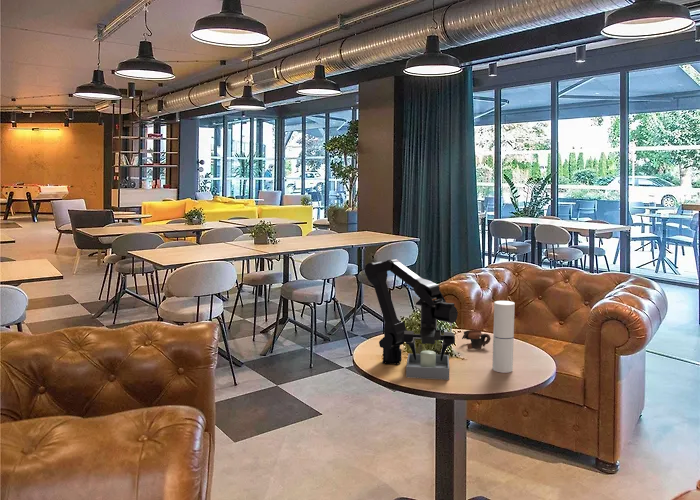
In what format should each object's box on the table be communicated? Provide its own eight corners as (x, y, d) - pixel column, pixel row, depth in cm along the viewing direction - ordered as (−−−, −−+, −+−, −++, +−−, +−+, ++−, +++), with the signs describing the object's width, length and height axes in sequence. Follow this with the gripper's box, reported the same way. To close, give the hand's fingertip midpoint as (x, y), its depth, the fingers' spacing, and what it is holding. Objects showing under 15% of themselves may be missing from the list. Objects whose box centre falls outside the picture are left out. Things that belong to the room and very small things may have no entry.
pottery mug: (460, 350, 232) (458, 330, 236) (467, 354, 240) (466, 335, 243) (488, 346, 227) (486, 326, 230) (495, 351, 235) (493, 331, 238)
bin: (406, 377, 200) (406, 366, 199) (408, 363, 214) (408, 353, 214) (449, 379, 197) (449, 368, 197) (448, 365, 212) (448, 355, 211)
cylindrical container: (501, 373, 203) (503, 305, 199) (488, 368, 209) (490, 301, 206) (516, 370, 206) (519, 303, 203) (502, 364, 212) (505, 299, 209)
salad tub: (420, 370, 203) (420, 354, 202) (420, 365, 209) (420, 350, 208) (435, 371, 202) (435, 355, 202) (435, 366, 208) (435, 350, 207)
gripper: (401, 323, 197) (400, 366, 199) (455, 325, 194) (454, 368, 196) (403, 315, 208) (402, 356, 210) (454, 317, 205) (454, 358, 207)
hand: (428, 360), depth 205 cm, fingers open, 9 cm apart
